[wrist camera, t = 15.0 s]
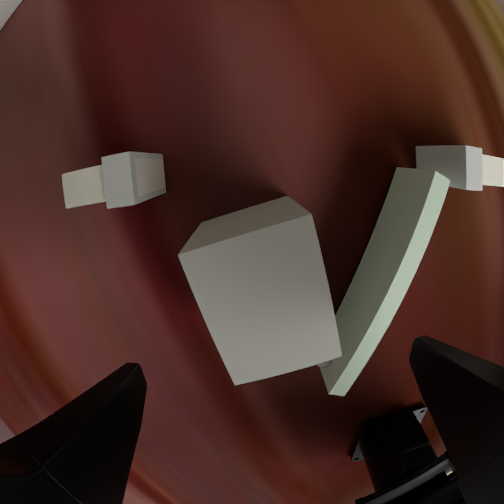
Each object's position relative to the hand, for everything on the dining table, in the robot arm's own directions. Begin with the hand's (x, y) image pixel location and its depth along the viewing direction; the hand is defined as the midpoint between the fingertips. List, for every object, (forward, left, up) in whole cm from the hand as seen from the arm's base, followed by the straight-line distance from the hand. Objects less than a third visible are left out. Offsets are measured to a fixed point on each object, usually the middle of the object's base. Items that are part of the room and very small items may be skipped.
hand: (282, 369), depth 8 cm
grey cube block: (+1, 0, -8) cm, 8 cm away
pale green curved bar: (0, -5, -7) cm, 9 cm away
